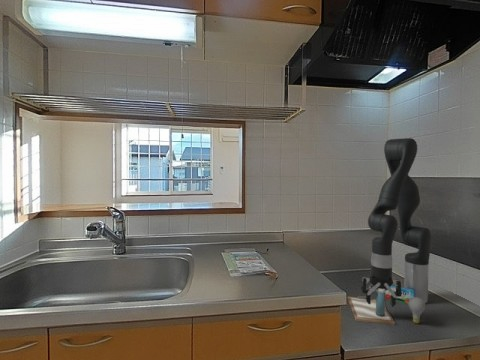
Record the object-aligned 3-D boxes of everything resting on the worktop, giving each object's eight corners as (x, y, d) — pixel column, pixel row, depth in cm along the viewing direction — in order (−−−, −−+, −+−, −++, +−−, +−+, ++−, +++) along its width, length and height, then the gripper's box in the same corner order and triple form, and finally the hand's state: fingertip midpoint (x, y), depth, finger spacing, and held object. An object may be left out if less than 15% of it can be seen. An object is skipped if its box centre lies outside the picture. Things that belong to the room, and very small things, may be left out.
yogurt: (383, 298, 131) (383, 285, 131) (383, 297, 132) (383, 284, 132) (413, 305, 125) (414, 291, 125) (413, 303, 127) (414, 289, 126)
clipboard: (347, 298, 131) (347, 294, 131) (380, 301, 128) (380, 298, 128) (355, 320, 112) (355, 316, 112) (395, 325, 109) (395, 320, 109)
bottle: (378, 311, 117) (378, 285, 116) (386, 315, 114) (387, 287, 114) (373, 314, 115) (374, 287, 114) (382, 317, 112) (382, 290, 112)
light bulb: (404, 320, 112) (405, 295, 111) (414, 318, 114) (415, 293, 113) (417, 328, 107) (418, 301, 106) (428, 325, 108) (428, 299, 108)
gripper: (364, 266, 111) (363, 307, 112) (404, 268, 108) (403, 311, 109) (360, 260, 119) (359, 298, 119) (397, 262, 116) (396, 302, 116)
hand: (380, 304), depth 114 cm, fingers open, 8 cm apart
